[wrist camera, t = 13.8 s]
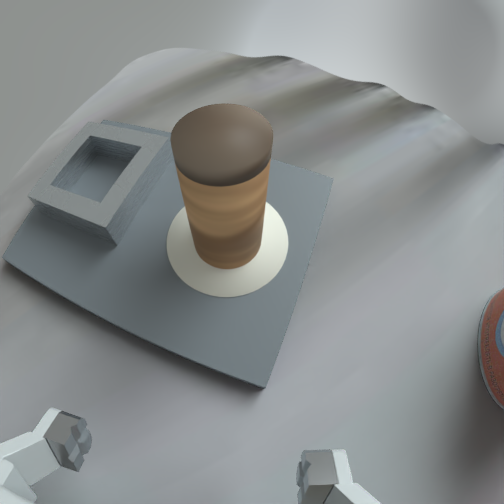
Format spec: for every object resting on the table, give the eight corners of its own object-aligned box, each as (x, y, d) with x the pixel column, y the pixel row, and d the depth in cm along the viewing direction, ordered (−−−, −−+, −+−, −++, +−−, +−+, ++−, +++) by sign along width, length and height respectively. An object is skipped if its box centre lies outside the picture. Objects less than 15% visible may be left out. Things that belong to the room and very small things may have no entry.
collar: (117, 246, 21) (105, 227, 18) (40, 213, 22) (27, 195, 20) (173, 159, 24) (169, 137, 22) (96, 140, 25) (88, 121, 23)
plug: (248, 278, 20) (253, 182, 12) (182, 256, 20) (151, 156, 12) (270, 221, 22) (285, 115, 14) (210, 203, 22) (197, 97, 14)
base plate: (264, 388, 18) (265, 387, 17) (9, 264, 21) (1, 256, 20) (330, 188, 25) (334, 177, 24) (106, 128, 28) (103, 119, 27)
